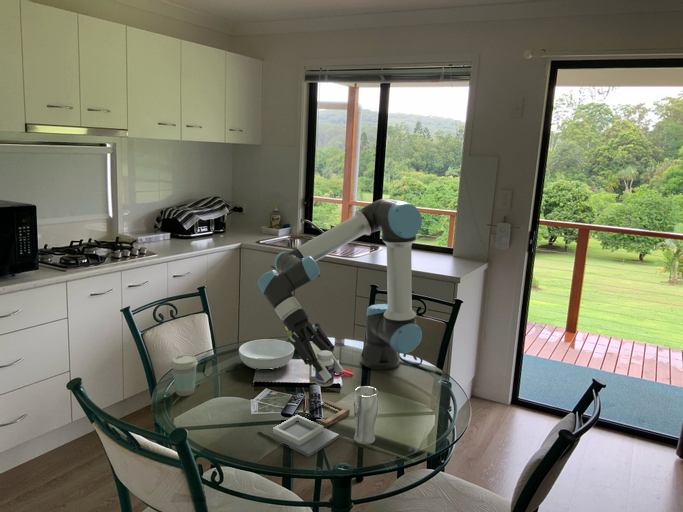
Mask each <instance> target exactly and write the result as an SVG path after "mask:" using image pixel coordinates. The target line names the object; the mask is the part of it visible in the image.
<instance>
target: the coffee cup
mask: <svg viewBox="0 0 683 512" xmlns="http://www.w3.org/2000/svg"><path fill="white" fill-rule="evenodd" d="M198 363H199V362H198V360H197V357H196V356H194V355H192V354H181V355H177V356H174V357H173V358H172V360H171V362H170V367H171V369H172V374H173V375H172V376H173V381H174V388H175V393H176V395H177V396H179V397H189V396H191V395H193V394H194V393H195V388H196V376H197V367H198V366H197V365H198Z"/></svg>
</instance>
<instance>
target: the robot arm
mask: <svg viewBox="0 0 683 512" xmlns="http://www.w3.org/2000/svg"><path fill="white" fill-rule="evenodd" d="M422 218H423V217H422V214H421V212H420V210H419V209H418V208H417V207H416V205H414V204H413V203H410V202H408V201H405V200H404V201H403V200H398V199H393V198H387V197H386V198H385V197H384V198H380V199H378V200H375V201H373V202H371V203H369V204H367V205H365V206H363V207H362V208H359V209H358V210H356V211H355V213H354V215H353V216H351V217H349V218H347V219H346V220H344V221H343V222H341V223H339V224H337V225H335V226H333V227H331V228H330V229H328V230H326V231H324V232H322V233H321V234H319V235H317V236H316V237H314V238H312V239H311V240H308V241H307V242H304V243H303V244H301V245H300V246H298V247H296V248H294V249H292V250H290V251H282V252H279V253H278V254H277V255H275V258H274V260H273V265H274V268H275V269H270V270H269V271H267V272H265V273H263V274H262V275H261V276H260V277H259V278H258V280H257V286H258V287H259V289H260V291H261V292H262V295H263V296H264V297H265V299H266V300H267V301H268V303H269V304H270V306H271V307H272V308H273V310H274V311H275V313H276V314H277V315H278V317H279V318H280V320H281V321H282V323H283V325H284V326H285V327H286V328H287V329H288V330H289V331H292V335H291V336H290V337H289V338H288V337H287V340H288V342H289V341H290V342H291V343H292V344H293V345H294V347H295V349H294V350H296V351H297V353H298V355H299V356H300V358H301V359H302V361H303V363H304V364H305V365H307V366H313V368H314V369H316V371H317V372H318V373H319V374H320V375H321V377H322V378H323V380H324V381H325V382H326V381H328V380H329V379H330V378H331V377H332V376H331V375H330V373H329V372H328V370H327V369H326V368H325V366H324V365H323V363H322V362H321V360H320V359H319V360H317V359H318V357H317V354H316V353H315V351H314V348H313V346H312V344H311V343H313V344H314V345H315V346H316V347H317V348H318V350H319V351H322V350H327V351H331V352H332V353H333V357H332V359H333V360H334V373H335V374H336V375H338V374H340V373H342V372H343V371H344V368H343V367H342V364H340V362H339V360H338V358H337V356H336V355H335V354H334V351H335V350H334V349H335V345H334V344H333V343H332V342H331V341H330V339H329V338H328V336H327V335H326V334H325V333H324V331H323V329H322V328H321V325H320V324H319V322H316V323H314V324H312V323H311V322H310V321H309V315H308V313H307V312H306V310H304V309H303V308H302V306H301V304H300V303H299V301H298V299H296V297H295V296H294V295H293V293H294V292H295V291H298V289H300V288H301V287H303V286H305V285H307V284H308V283H310V282H312V281H314V280H315V279H316V278H317V277H318V276H320V274H321V270H320V269H321V268H320V267H319V265H318V263H317V262H318V261H319V260H322V259H323V258H325V257H326V256H328V255H330V254H332V253H334V252H336V251H337V250H339V249H341V248H342V247H345V246H346V245H348V244H349V243H351V242H352V241H355V240H357V239H358V238H360V237H362V236H364V235H368V236H369V235H371V234H373V233H376V232H378V231H381V235H382V236H381V237H382V242H383V243H384V244H385V245H386V273H387V275H386V276H387V277H386V280H387V282H386V283H387V285H386V287H387V303H377V304H371V305H370V306H369V307H367V308H366V314H365V316H366V318H365V319H366V320H365V322H366V323H365V325H366V326H365V328H366V329H365V344H364V346H363V349H362V351H361V354H360V363H361V365H362V366H364V367H366V368H368V369H374V370H383V371H385V370H391V369H392V370H393V369H394V368H396V367H398V366H399V364H400V355H399V353H400V354H408V353H411V352H413V351H414V350H415V349H416V348H417V346H419V345H420V343H421V341H422V338H423V333H422V332H423V331H422V329H421V327H420V326H419V325H418V324H417V313H416V312H415V311H414V310H413V309H412V308H413V305H412V304H413V303H412V302H413V301H412V296H413V295H412V293H413V290H412V289H413V288H412V287H413V286H412V285H413V282H412V279H413V278H412V275H413V274H412V273H413V272H412V270H413V269H412V267H413V266H412V245H413V243H414V242H416V237H417V234H418V233H419V231H421V229H422V226H423V219H422Z"/></svg>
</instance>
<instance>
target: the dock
mask: <svg viewBox="0 0 683 512" xmlns="http://www.w3.org/2000/svg"><path fill="white" fill-rule="evenodd" d="M294 415H295V416H293V417H291V418H290V419H288V420H286V421H284V422H282V423H281V424H279V425H277V426H275V427H273V435H272V437H273V439H272V440H273V441H276V442H278V443H279V444H282V443H284V444H286V445H288V446H289V447H288V446H287V447H288V448H290V449H292V450H294V451H296V452H298V453H300V454H302V455H303V456H306V457H308V458H310V457H312V456H313V455H315V454H316V453H318V452H319V451H320V450H323V449H324V448H325V447H327V446H328V445H330V444H331V443H333V442H334V441H336V440H338V439H339V437H340V434H339V433H336V432H334V431H333V430H329V429H327V428H325V427H324V426H323V425H320V424H318V423H316V422H314V421H311V420H309V419H307V418H305V417H302V416H300V415H298V413H297V414H294ZM296 421H299V422H297V423H295V422H296ZM284 444H283V445H284ZM286 445H285V446H286Z"/></svg>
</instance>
